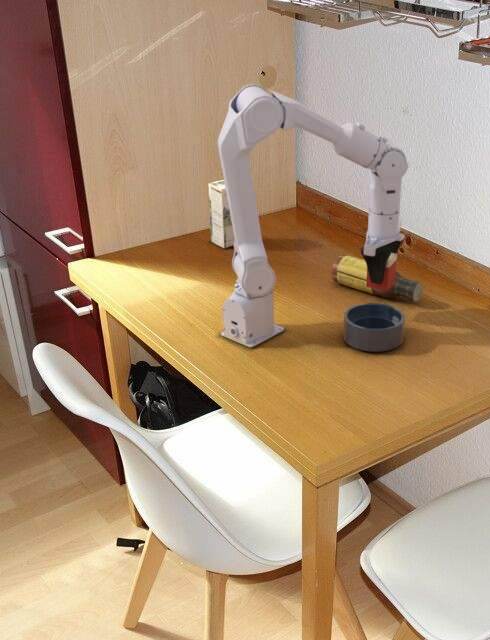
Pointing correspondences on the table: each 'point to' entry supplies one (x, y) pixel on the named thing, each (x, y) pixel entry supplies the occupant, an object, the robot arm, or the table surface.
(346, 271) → the sauce bottle
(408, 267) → the table surface
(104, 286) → the table surface
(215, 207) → the syrup box
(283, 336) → the table surface
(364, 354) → the table surface
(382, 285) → the red block
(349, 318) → the bowl
